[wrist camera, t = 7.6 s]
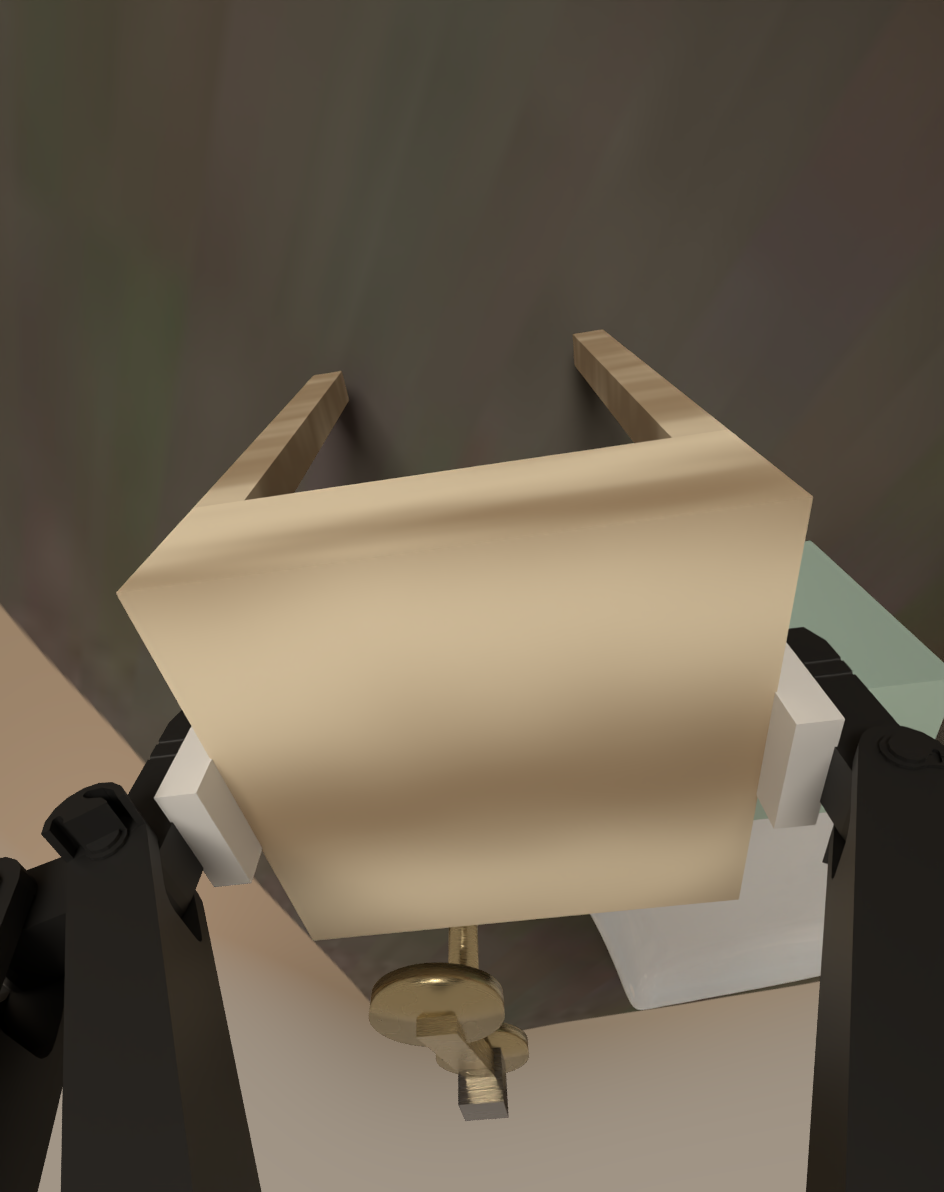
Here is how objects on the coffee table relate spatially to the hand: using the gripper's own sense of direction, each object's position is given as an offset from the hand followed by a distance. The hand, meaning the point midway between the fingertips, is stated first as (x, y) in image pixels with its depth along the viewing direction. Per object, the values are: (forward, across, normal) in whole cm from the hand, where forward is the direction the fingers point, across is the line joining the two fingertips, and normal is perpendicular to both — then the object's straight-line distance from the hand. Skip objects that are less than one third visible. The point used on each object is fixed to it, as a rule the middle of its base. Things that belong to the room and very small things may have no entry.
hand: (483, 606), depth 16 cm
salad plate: (+10, +14, -29) cm, 34 cm away
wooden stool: (+8, 0, 0) cm, 8 cm away
